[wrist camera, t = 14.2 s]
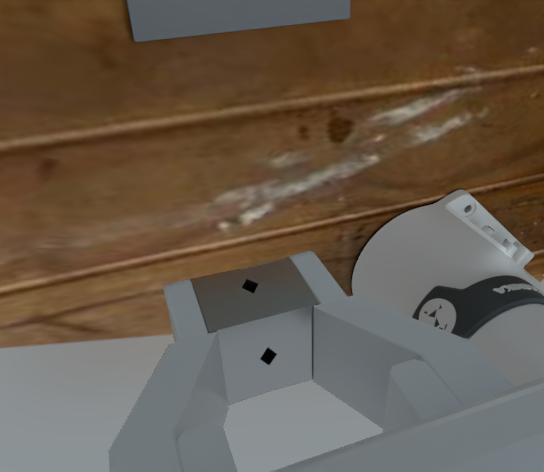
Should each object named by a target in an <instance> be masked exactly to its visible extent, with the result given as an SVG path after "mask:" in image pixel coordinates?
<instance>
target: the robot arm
mask: <svg viewBox="0 0 544 472" xmlns="http://www.w3.org/2000/svg"><path fill="white" fill-rule="evenodd" d="M465 207H466V208H465ZM533 257H534V254H533V253H532V252H531V251H529V250H528V249H527V248H525V247H524V246H523V245H522V244H521V243H520V242H519V241H518V240H517V239H516V238H515V237H514V236H513V235H512V234H511V233H510V232H509V231H507V230H506V229H505V228H504V227H503V226H502V225H501V224H500V223H499V222H498V221H497V220H496V219H495V218H494V217H493V216H492V215H491V214H490V213H489V212H488V211H487V210H486V209H485V208H484V207H483V206H482V205H481V204H480V203H479V202H477V201H476V200H475V199H474V198H473V197H472V196H471V195H470V194H469V193H468V192H467V191H465V190H462V189H461V190H457V191H455V192H453V193H451V194H449V195H448V196H446V197H444V198H443V199H441V200H440V201H438V202H436V203H434V204H431V205H427V206H423V207H419V208H416V209H413V210H410V211H408V212H405V213H403V214H401V215H399V216H398V217H396V218H394V219H393V220H391V221H390V222H389V223H387V224H386V225H385V226H384V227H382V228H381V229H380V230H379V231H378V232H377V233H376V234H375V235H374V236H373V237H372V238H371V240H370V241H369V242H368V243H367V245H366V246H365V248H364V249H363V251H362V252H361V254H360V256H359V258H358V260H357V263H356V265H355V268H354V272H353V276H352V293H353V296H349V297H348V296H347V295H346V294H345V293H344V291H343V290H342V289H341V287H340V286H339V285H338V283H337V282H336V281H335V279H334V278H333V277H332V275H331V274H330V273H329V271H328V270H327V269H326V268H325V266H324V265H323V264H322V262H321V261H320V260H319V258H318V257H317V256H316V254H315V253H314V252H312V251H307V252H303V253H300V254H296V255H292V256H288V257H287V258H284V259H280V260H276V261H271V262H267V263H263V264H259V265H255V266H251V267H247V268H243V269H236V270H231V271H227V272H222V273H217V274H212V275H208V276H203V277H198V278H194V279H190V280H185V281H181V282H176V283H172V284H168V285H164V293H165V298H166V303H167V308H168V313H169V318H170V323H171V327H172V332H173V337H174V342H175V343H172V344H169V345H168V347H167V349H166V351H165V353H164V354H163V356H162V358H161V359H160V361H159V363H158V365H157V366H156V368H155V370H154V372H153V374H152V376H151V377H150V379H149V380H148V382H147V384H146V386H145V388H144V389H143V391H142V393H141V395H140V396H139V398H138V400H137V402H136V404H135V405H134V407H133V409H132V411H131V412H130V414H129V416H128V417H127V419H126V421H125V423H124V425H123V426H122V428H121V430H120V432H119V433H118V435H117V437H116V439H115V440H114V442H113V444H112V446H111V447H110V449H109V467H110V472H237V469H236V466H235V463H234V460H233V456H232V453H231V450H230V447H229V444H228V441H227V437H226V434H225V431H224V428H223V425H224V422H225V418H226V415H227V412H228V409H229V407H228V405H231V404H234V403H236V402H240V401H242V400H246V399H248V398H252V397H255V396H257V395H261V394H263V393H266V392H270V391H273V390H277V389H280V388H284V387H287V386H291V385H295V384H298V383H302V382H305V381H309V380H313V381H314V382H315V383H317V384H318V385H320V386H321V387H322V388H324V389H325V390H327V391H328V392H330V393H331V394H333V395H334V396H335V397H337V398H338V399H340V400H342V401H343V402H344V403H346V404H347V405H349V406H350V407H352V408H353V409H355V410H356V411H358V412H359V413H361V414H362V415H364V416H365V417H366V418H368V419H369V420H371V421H372V422H374V423H375V424H377V425H378V426H380V427H381V428H383V433H381V434H378V435H376V436H373V437H370V438H367V439H364V440H361V441H358V442H355V443H353V444H349V445H347V446H344V447H341V448H338V449H335V450H332V451H329V452H326V453H323V454H321V455H318V456H315V457H312V458H309V459H306V460H303V461H300V462H297V463H295V464H292V465H289V466H286V467H283V468H280V469H277V470H274V471H272V472H544V293H542V292H541V291H540V283H539V282H538V281H537V280H536V279H535V278H534V277H533V276H532V275H530V274H529V273H528V272H527V271H526V270H524V269H523V268H524V265H526V264H527V263H528V262H529V261H530V260H531V259H532V258H533Z"/></svg>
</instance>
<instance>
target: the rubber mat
mask: <svg viewBox="0 0 544 472" xmlns="http://www.w3.org/2000/svg"><path fill="white" fill-rule="evenodd" d="M126 2H127V7H128V13H129V18H130V23H131V29H132V34H133V40H134V41H135V42H142V41H151V40H160V39H169V38H178V37H187V36H196V35H205V34H214V33H223V32H232V31H241V30H250V29H259V28H268V27H277V26H286V25H295V24H304V23H313V22H322V21H331V20H340V19H349V18H350V0H126Z"/></svg>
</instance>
